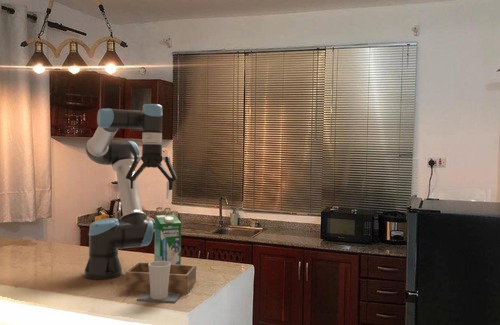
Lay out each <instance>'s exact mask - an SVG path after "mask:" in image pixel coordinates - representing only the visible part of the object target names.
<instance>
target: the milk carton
mask: <svg viewBox="0 0 500 325" xmlns="http://www.w3.org/2000/svg"><path fill="white" fill-rule="evenodd" d="M181 247H182V222H181V221H180V220H179V218H178V217H177V215H176V214H162V215H161V214H160V215H158V214H157V215H154V247H153V248H154V256H153V259H154V261H168V262H170V263H171V264H177V265H182V264H181V262H182V260H181V258H182V256H181V255H182V248H181ZM154 261H153V262H154Z"/></svg>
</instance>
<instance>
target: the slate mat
mask: <svg viewBox="0 0 500 325" xmlns="http://www.w3.org/2000/svg"><path fill="white" fill-rule="evenodd" d="M181 296H182V294H180V293H168V297H167V298H164V299H152V298H151V297H150V292H145V291H143V292H142V293H141V294H140V295H139V296H138V297H137V298H136V302H152V303H153V302H154V303H167V304H168V303H169V304H175V303H176V302H177V301H178V300H179V299H180V298H181Z"/></svg>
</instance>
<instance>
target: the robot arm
mask: <svg viewBox="0 0 500 325" xmlns="http://www.w3.org/2000/svg"><path fill="white" fill-rule="evenodd" d="M163 115H164V114H163V106H162V105H161V104H157V103H144V104H143V105H142V110H137V109H134V110H133V109H119V108H118V109H117V108H109V107H108V108H100V109H98V111H97V116H96V123H97V128H96V130H95V132H94V134H93V136H92V137H90V138H89V139H88V140H87V142H86V145H85V154H86V155H87V157H88V158H89V159H90V160H91V161H93V162H94V163H96V164H98V165H103V166H111V169H112V170H113V171H114V172H115V173H116V178H117V185H118V191H119V193H118V194H119V199H120V205H121V211H122V215H121V217H120V220H119V219H118V218H115V217H110V218H109V217H107V218H102V219H98V220H94V221H93V222H91V223H90V224H89V231H88V238H89V241H88V244H89V246H88V259H87V261H86V266H85V268H84V277H85V278H87V279H89V280H109V279H115V278H117V277H120V276H121V275H122V274H123V268H122V263H121V261H120V257H119V249H128V248H129V249H130V248H141V247H146V246H149V245H150V244H151V242H152V240H153V235H154V222H153V220H152V219H150V218H148V217H147V213H146V212H143V207H142V202H141V196H140V191H139V190H140V189H139V185H138V184H139V183H138V180H137V178H138V177H139V176H140V175H141V173H142V172H143V171H144V170H145V169H146V168H153V169H155V168H157V169H158V170H159V171H160V172H161V173H162V174H163V176H164V177H165V178H166V179H167V182H166V194H165V196H166V199H167V200H169V199H171V191H172V190H174V181H177V180H179V179H178V178H179V177H178V175H177V173H176V171H175V169H174V167H173V165H172V162H171V158H170V156H164V157H163V155H162V154H163V146H162V143H163ZM119 129H126V130H127V129H129V130H131V129H132V130H142V136H141V137H142V140H141V141H142V148H141V151H142V152H140V148H139V146H138V144H137V143H136V142H135V141H133V140H113V138H114V137H115V135H116V133H117V132H118V130H119ZM140 154H141V155H140ZM140 161H141V162H142V164H141V165H140V167H138V164H139V163H140ZM162 162H164V163H165V165H166V167H167V169H168V171H169V172H168V171H167V170H166V168H165V167H164V166H163V164H162ZM137 167H138V169H137V170H136V168H137Z"/></svg>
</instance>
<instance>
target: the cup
mask: <svg viewBox="0 0 500 325" xmlns="http://www.w3.org/2000/svg"><path fill="white" fill-rule="evenodd" d="M148 263H149V264H148V266H149V279H150V297H151V298H152V299H164V298H167V297H168V285H169V274H170V266H171V263H170V262H168V261H150V262H148Z"/></svg>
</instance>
